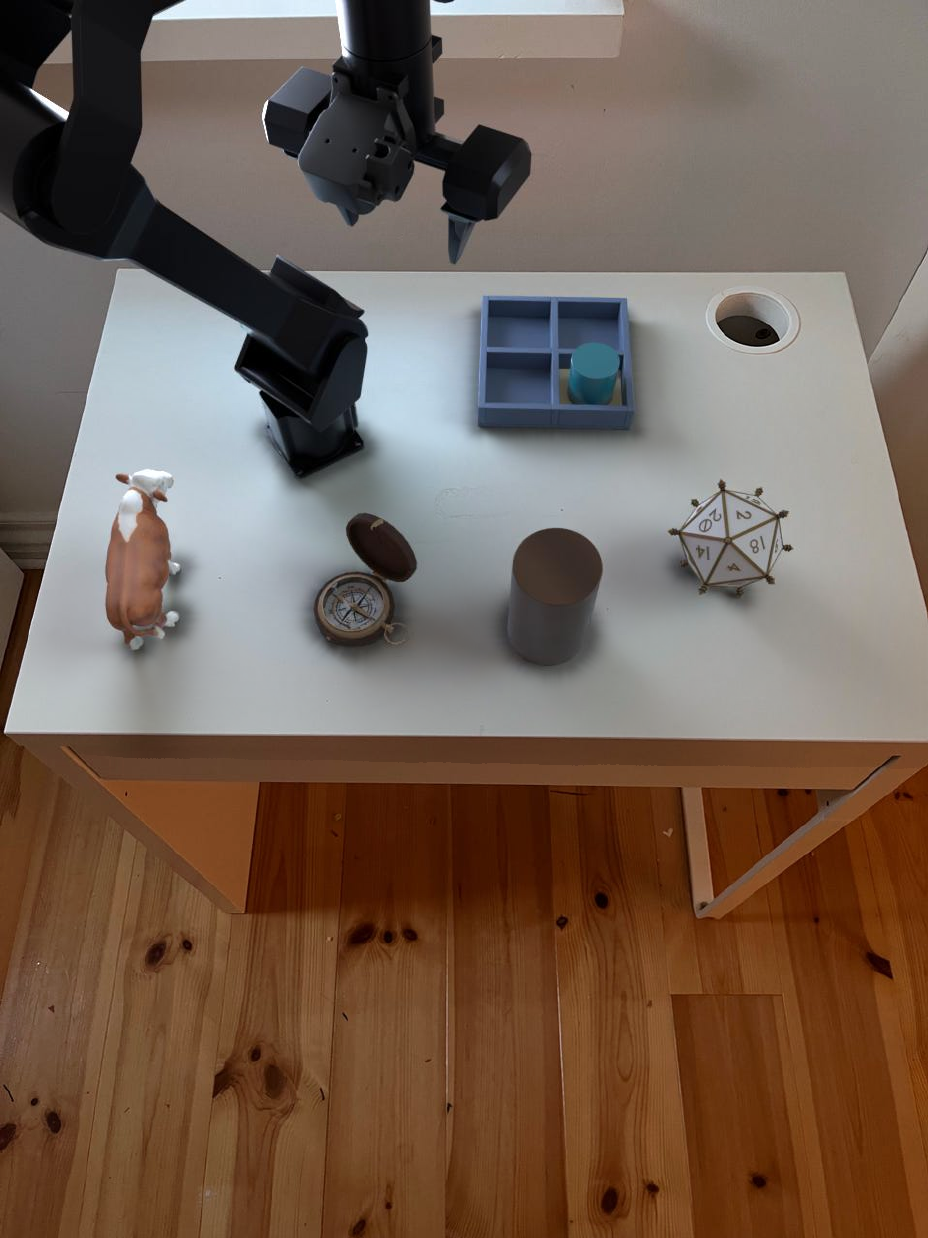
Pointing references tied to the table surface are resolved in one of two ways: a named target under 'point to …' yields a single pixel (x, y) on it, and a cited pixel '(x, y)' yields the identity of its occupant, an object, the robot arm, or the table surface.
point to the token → (593, 374)
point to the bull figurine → (139, 559)
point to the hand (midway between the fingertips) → (403, 241)
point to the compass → (366, 584)
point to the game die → (732, 539)
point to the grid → (549, 361)
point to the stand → (553, 595)
